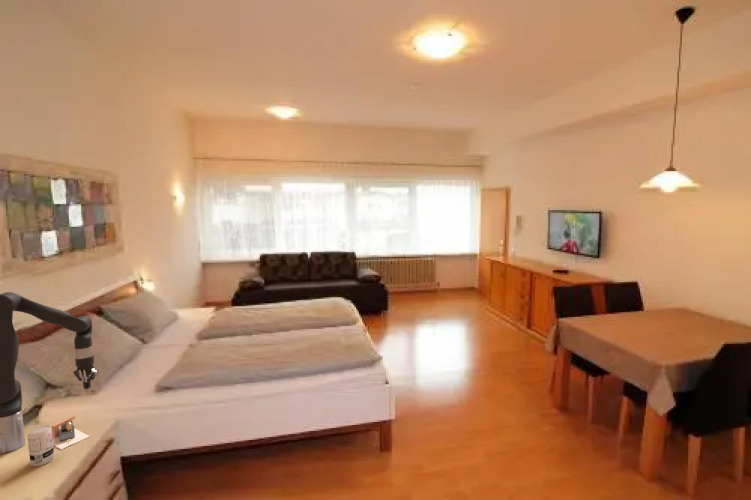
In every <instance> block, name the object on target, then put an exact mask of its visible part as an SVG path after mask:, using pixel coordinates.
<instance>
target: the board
mask: <svg viewBox="0 0 751 500" xmlns="http://www.w3.org/2000/svg"><path fill="white" fill-rule="evenodd" d="M74 430H75V438H72V440H71V441H70V442H68V441H67V440H65V441H62V442H60V439H59V436H58V437H56V438H53V447H55V448H57V449H58V450H61V451H62V450H65V449H67V448H69V447H71V446H73V445H75V443H76V444H78V443H80V442H82V441H84V439H85V440H87V439H88V437H89V438H90V437H91V436H90V435H88V434H86V433H85V432H82V431H80V430H79V429H76V428H75V427H74ZM86 438H87V439H86ZM77 442H78V443H77ZM68 443H69V444H68ZM72 444H73V445H72ZM70 445H71V446H70ZM68 446H69V447H68ZM66 447H67V448H66ZM64 448H65V449H64Z"/></svg>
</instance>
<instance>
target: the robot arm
mask: <svg viewBox="0 0 751 500" xmlns="http://www.w3.org/2000/svg"><path fill="white" fill-rule="evenodd" d="M14 312H20V313H24V314H27V315H31V316H33V317H35V318H36V319H39V321H40V320H41V321H42V322H45V323H49V324H52V325H56V326H60V327H62V328H64V329H66V330H69V331H71V332H75V337H74V340H73V341H74V342H73V343H74V363H75V367H76V369H75V370H74V371H73V372H72V373H73V375H75V377H76V379H78V381H79V382H82V387H83V390H88V389H91V386H92V384H91V381H93V380H95V378H96V376H97V375H98V373H99V370H95V366H94V363H95V357H94V356H95V354H94V346H93V341H92V334H93V333H92V332H93V331H92V330H93V322H92V319H91V317H89V316H87V315H81V316H78V317H77V316H73V315H71V313H70V312H68V311H65V310H61V309H58V308H54V307H52V306H51V307H50V306H48V305H44V304H42V303H39V302H36V301H33V300H31V299H29V298H27V297H24V296H22V295H20V294H17V293H14V292H11V291H10V292H9V291H8V292H2V293H0V454H5V453H10V452H13V451H17V450H18V449H20V448H22V447H23V446H24V445H25V444H26V437H25V428H24V427H25V426H24V419H23V417H24V416H23V410H22V409H23V407H22V404H23V396H22V387H21V383H20V381H19V380H17V379H16V375H15V372H16V371H15V370H16V366H17V362H18V356H19V351H20V350H19V347H20V346H19V344H20V343H19V336H18V334H17V332H16V330H15V327H14V323H13V319H14V318H13V317H14V316H13V314H14Z"/></svg>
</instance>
